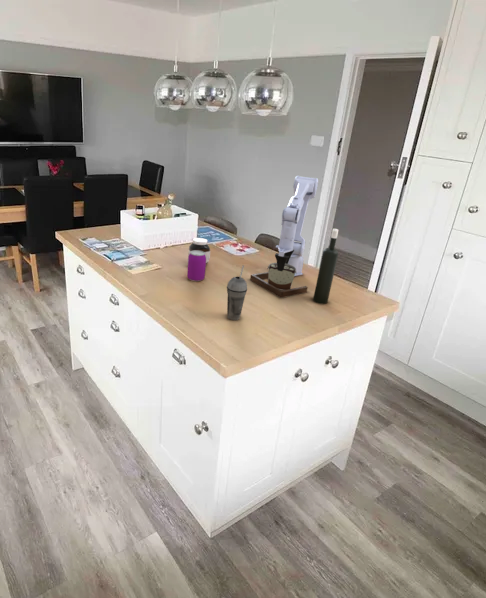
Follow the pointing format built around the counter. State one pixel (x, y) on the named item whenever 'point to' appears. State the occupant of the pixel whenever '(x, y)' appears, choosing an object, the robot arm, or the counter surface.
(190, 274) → the beverage can
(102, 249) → the counter surface
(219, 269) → the counter surface
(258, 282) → the brown frame
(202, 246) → the spread jar
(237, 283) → the beverage cup
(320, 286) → the wine bottle
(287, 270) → the food container
